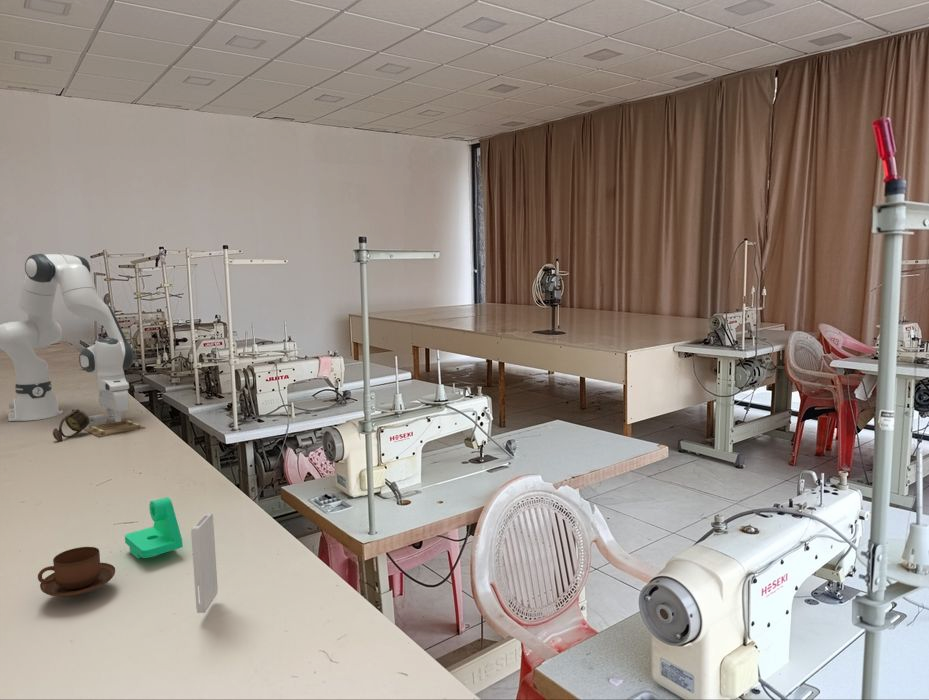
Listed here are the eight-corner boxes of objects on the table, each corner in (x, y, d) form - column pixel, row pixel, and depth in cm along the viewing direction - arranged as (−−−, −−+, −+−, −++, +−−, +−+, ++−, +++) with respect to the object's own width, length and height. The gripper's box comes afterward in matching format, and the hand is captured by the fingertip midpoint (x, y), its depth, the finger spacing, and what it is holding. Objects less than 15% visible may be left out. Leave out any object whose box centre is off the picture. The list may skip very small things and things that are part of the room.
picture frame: (84, 432, 240) (84, 426, 240) (130, 424, 251) (130, 418, 251) (98, 438, 230) (98, 432, 229) (146, 430, 241) (145, 424, 241)
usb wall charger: (89, 426, 249) (88, 416, 248) (106, 422, 255) (105, 412, 254) (95, 427, 247) (94, 417, 246) (113, 423, 253) (112, 413, 252)
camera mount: (124, 546, 139) (120, 499, 138) (161, 536, 144) (158, 490, 143) (144, 564, 130) (140, 514, 129) (183, 552, 136) (179, 504, 134)
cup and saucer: (64, 609, 113) (60, 575, 112) (27, 593, 119) (24, 560, 118) (129, 580, 123) (127, 549, 123) (92, 566, 129) (90, 536, 129)
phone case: (210, 593, 118) (205, 512, 116) (218, 592, 118) (213, 512, 116) (196, 614, 111) (190, 529, 109) (204, 614, 111) (198, 528, 109)
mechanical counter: (95, 433, 237) (93, 406, 236) (71, 443, 224) (68, 414, 223) (76, 433, 238) (74, 406, 236) (51, 442, 225) (48, 414, 224)
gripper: (92, 380, 243) (95, 417, 245) (111, 387, 229) (115, 425, 231) (110, 378, 248) (113, 414, 249) (130, 384, 234) (133, 422, 235)
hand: (114, 420), depth 240 cm, fingers open, 5 cm apart
